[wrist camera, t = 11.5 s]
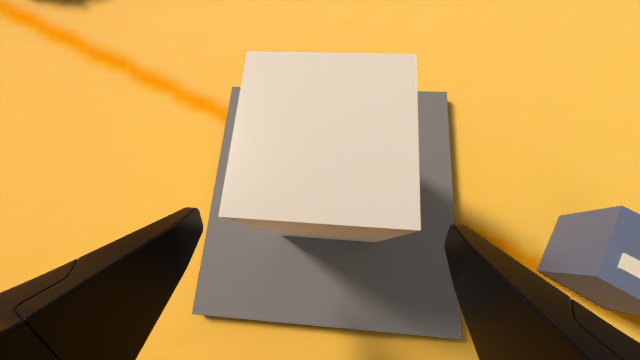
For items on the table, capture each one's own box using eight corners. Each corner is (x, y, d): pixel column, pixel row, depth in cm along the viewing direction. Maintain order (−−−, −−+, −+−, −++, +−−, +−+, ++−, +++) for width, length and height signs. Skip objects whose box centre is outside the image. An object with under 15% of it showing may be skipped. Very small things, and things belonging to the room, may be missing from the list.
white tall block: (374, 242, 17) (420, 230, 8) (281, 235, 17) (218, 216, 8) (376, 153, 18) (416, 54, 9) (290, 149, 19) (246, 51, 10)
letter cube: (603, 308, 16) (691, 326, 12) (535, 270, 17) (598, 276, 13) (623, 249, 17) (713, 248, 13) (558, 216, 17) (623, 205, 13)
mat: (455, 335, 16) (461, 339, 15) (198, 311, 17) (192, 314, 16) (442, 98, 20) (446, 92, 19) (236, 93, 21) (232, 87, 20)
